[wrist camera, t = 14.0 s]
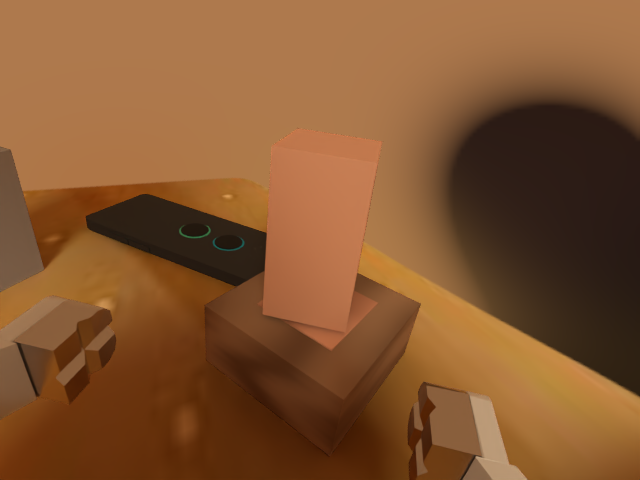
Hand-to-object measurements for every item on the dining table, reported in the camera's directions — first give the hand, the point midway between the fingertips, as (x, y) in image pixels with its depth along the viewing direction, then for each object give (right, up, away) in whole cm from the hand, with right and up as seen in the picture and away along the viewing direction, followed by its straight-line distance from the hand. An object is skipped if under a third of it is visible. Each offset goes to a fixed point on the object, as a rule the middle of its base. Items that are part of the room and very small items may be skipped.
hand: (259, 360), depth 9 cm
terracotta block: (+1, -1, +14) cm, 14 cm away
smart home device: (-11, +2, +28) cm, 30 cm away
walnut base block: (+1, -5, +17) cm, 18 cm away
